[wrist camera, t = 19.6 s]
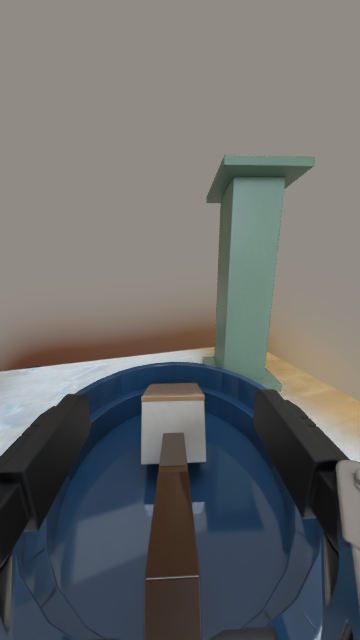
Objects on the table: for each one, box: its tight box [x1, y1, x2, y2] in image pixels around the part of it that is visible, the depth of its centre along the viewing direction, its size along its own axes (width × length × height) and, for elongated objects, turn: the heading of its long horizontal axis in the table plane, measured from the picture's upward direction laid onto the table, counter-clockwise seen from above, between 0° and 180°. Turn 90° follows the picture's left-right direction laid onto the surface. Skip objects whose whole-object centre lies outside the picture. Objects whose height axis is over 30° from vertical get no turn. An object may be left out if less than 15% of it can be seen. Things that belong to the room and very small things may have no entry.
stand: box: [203, 155, 315, 391], centre depth 32 cm, size 12×11×32 cm
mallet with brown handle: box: [141, 383, 206, 640], centre depth 14 cm, size 16×6×5 cm, turn 2°
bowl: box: [14, 362, 322, 640], centre depth 16 cm, size 22×22×6 cm
